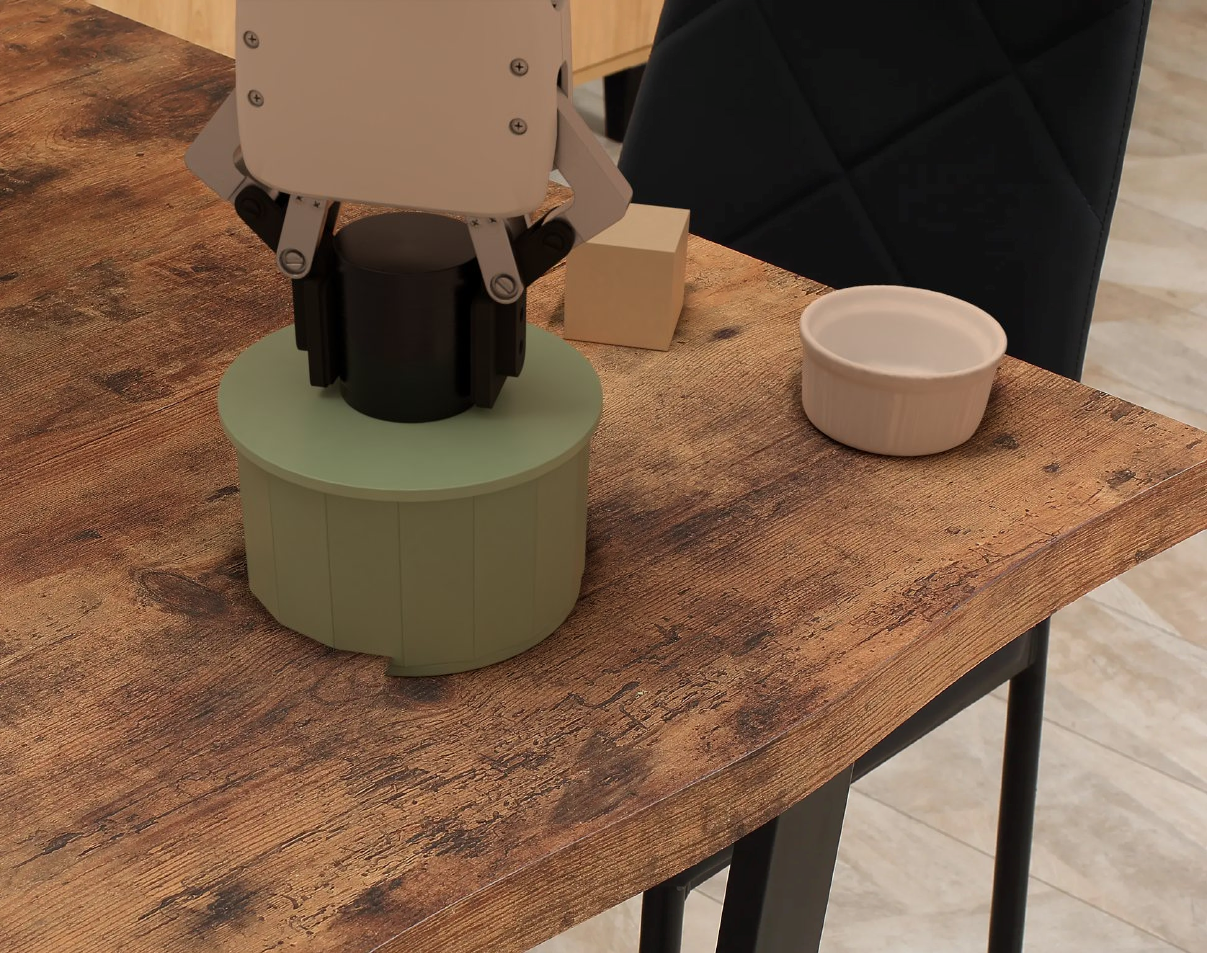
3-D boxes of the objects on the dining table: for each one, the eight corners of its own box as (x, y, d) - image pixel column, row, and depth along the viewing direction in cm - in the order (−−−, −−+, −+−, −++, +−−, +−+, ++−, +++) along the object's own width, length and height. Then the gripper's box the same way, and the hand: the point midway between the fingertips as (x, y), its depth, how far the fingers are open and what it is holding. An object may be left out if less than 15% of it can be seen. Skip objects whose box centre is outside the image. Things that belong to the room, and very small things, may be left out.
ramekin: (753, 423, 76) (763, 334, 73) (846, 350, 82) (858, 265, 79) (938, 489, 72) (955, 397, 69) (1021, 407, 78) (1040, 320, 75)
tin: (199, 649, 61) (178, 466, 57) (310, 471, 71) (299, 304, 66) (543, 700, 59) (548, 516, 55) (607, 510, 69) (616, 343, 65)
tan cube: (563, 338, 81) (566, 239, 79) (583, 293, 85) (586, 198, 83) (667, 351, 81) (675, 252, 78) (683, 305, 85) (690, 209, 82)
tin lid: (159, 488, 57) (136, 304, 53) (292, 311, 67) (280, 147, 63) (560, 543, 55) (566, 357, 51) (630, 352, 66) (640, 187, 62)
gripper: (708, -183, 52) (669, 360, 62) (165, -229, 54) (217, 305, 64) (671, -126, 46) (634, 465, 56) (61, -179, 48) (137, 400, 58)
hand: (411, 374), depth 60 cm, fingers closed on tin lid, 5 cm apart
